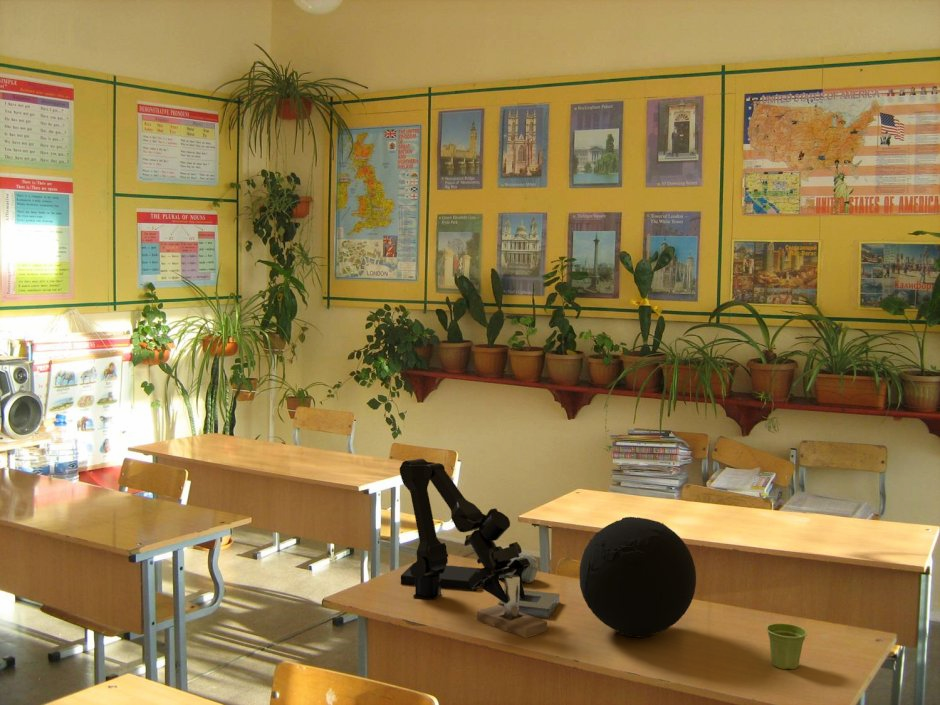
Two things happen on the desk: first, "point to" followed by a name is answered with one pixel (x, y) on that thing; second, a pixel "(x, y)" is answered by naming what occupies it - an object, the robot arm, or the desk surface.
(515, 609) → the steel axle
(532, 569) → the spool
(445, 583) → the external hard drive
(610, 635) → the desk surface
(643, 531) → the sphere
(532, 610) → the block
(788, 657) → the plant pot
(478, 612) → the wooden block with hole
